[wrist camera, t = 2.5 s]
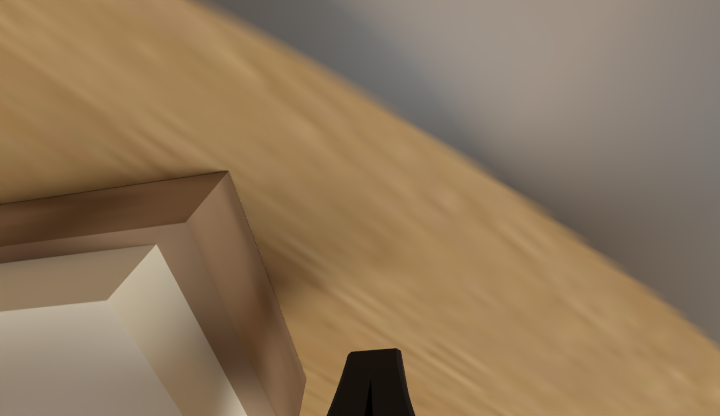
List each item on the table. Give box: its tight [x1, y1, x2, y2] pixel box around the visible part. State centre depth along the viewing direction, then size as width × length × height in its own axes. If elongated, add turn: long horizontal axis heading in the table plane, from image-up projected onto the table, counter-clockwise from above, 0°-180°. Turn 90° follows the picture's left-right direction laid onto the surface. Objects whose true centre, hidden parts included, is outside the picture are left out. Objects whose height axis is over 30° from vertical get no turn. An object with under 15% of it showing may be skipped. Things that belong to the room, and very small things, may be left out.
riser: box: [0, 171, 306, 416], centre depth 14 cm, size 10×10×3 cm
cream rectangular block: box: [0, 244, 247, 416], centre depth 11 cm, size 6×9×2 cm, turn 10°
